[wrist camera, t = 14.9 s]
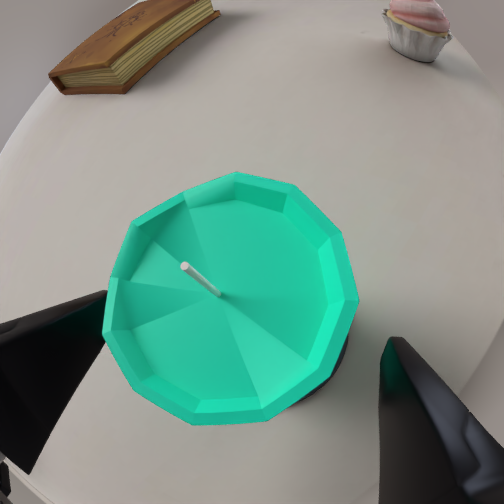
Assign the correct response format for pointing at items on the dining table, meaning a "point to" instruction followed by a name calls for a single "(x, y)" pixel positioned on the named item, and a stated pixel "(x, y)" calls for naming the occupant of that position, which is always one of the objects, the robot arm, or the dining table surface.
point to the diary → (130, 46)
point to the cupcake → (417, 28)
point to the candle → (230, 301)
